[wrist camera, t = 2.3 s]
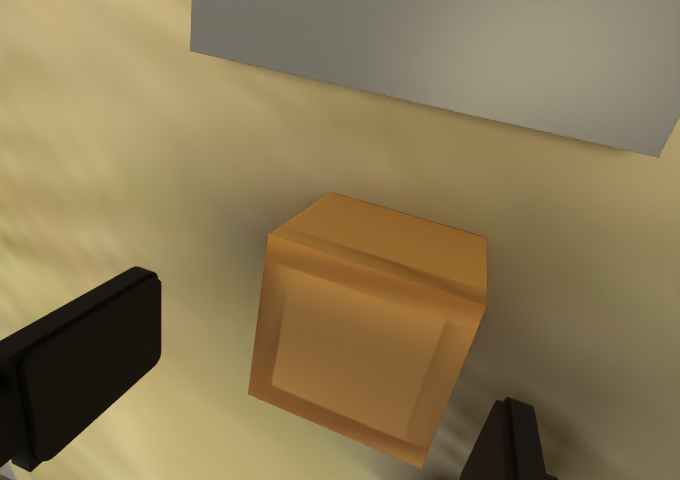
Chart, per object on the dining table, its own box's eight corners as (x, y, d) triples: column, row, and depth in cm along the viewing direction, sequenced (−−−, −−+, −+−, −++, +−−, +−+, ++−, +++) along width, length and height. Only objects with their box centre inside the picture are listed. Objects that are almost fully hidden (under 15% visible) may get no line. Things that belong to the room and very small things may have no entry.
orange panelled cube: (486, 237, 14) (487, 305, 10) (438, 367, 17) (420, 468, 12) (329, 192, 16) (268, 234, 11) (305, 318, 18) (248, 394, 14)
